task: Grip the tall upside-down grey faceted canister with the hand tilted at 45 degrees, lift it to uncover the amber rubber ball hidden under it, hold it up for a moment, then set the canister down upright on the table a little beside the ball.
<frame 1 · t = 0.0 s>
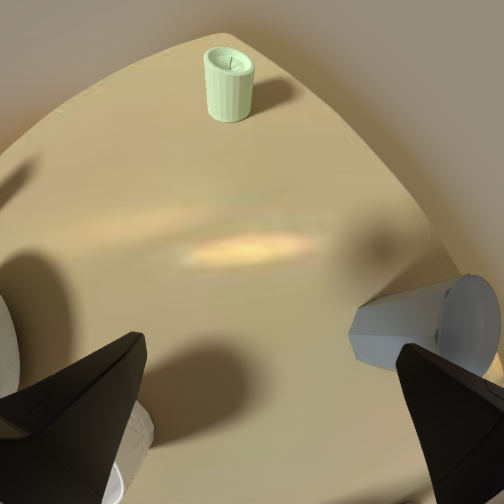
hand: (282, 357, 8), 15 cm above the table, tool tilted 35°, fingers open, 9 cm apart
candle: (229, 109, 29), on the table
white cup: (122, 422, 20), on the table
grey faceted canister: (379, 332, 23), on the table
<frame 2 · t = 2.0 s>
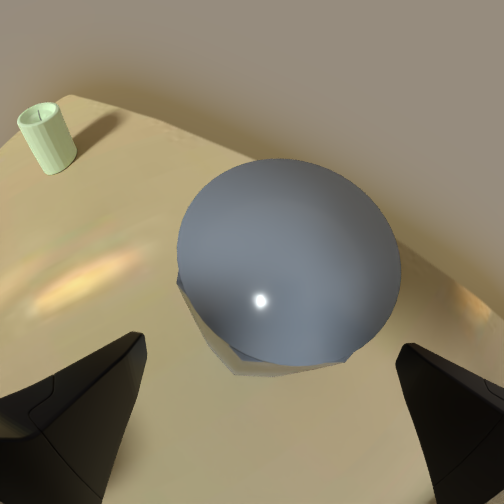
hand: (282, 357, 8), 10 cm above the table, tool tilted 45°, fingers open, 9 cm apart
candle: (60, 161, 25), on the table
grey faceted canister: (256, 331, 18), on the table
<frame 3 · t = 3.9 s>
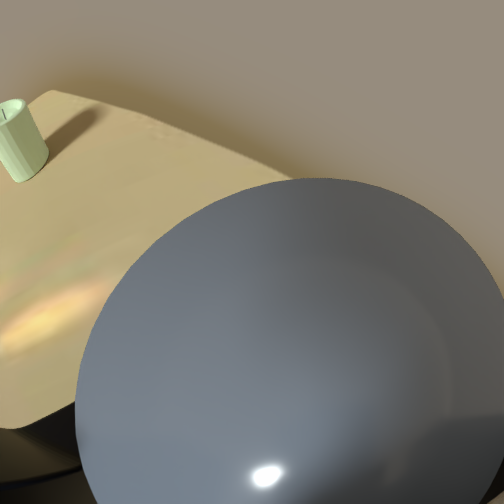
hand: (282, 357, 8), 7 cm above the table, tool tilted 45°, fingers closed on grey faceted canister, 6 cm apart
candle: (31, 166, 20), on the table
grey faceted canister: (259, 391, 13), on the table, touching gripper
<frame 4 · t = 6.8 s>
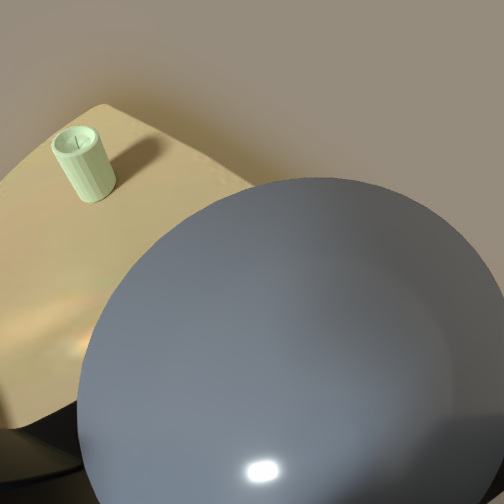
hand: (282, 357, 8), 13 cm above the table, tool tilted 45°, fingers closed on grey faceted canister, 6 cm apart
candle: (98, 187, 27), on the table
grey faceted canister: (259, 391, 13), point 7 cm above the table, touching gripper
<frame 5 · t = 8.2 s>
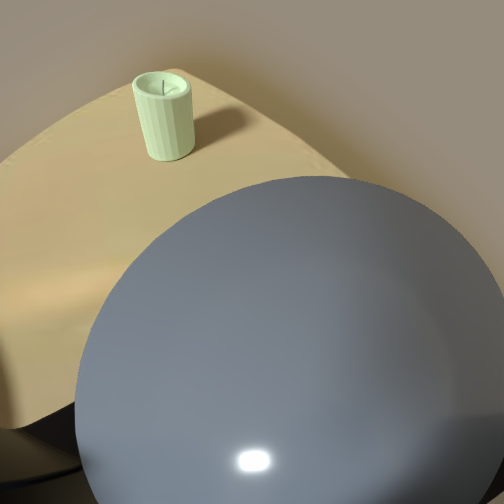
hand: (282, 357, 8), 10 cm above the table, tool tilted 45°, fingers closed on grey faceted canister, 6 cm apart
candle: (171, 147, 25), on the table
grey faceted canister: (259, 390, 13), point 3 cm above the table, touching gripper
when the fingers open (8 cm above the table, at t = 9.5 s): grey faceted canister drops 1 cm, on the table.
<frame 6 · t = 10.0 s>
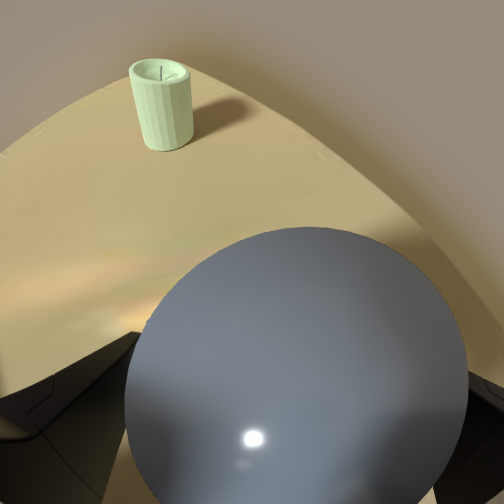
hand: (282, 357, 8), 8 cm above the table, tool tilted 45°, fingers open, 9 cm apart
candle: (169, 137, 24), on the table
grey faceted canister: (257, 388, 15), on the table
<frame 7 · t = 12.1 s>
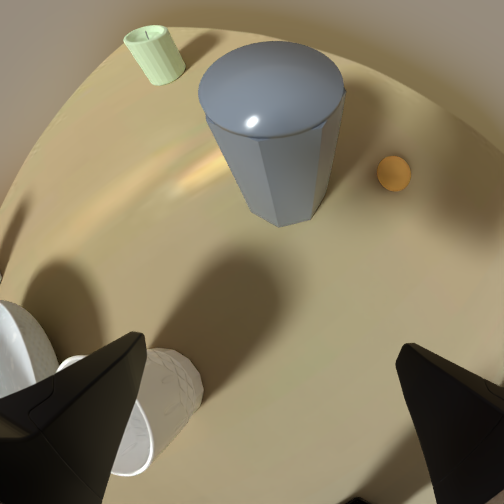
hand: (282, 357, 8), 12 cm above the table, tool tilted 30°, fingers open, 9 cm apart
cereal bowl: (42, 369, 23), on the table
candle: (168, 74, 28), on the table
white cup: (168, 383, 21), on the table
grey faceted canister: (284, 188, 22), on the table
amber ball: (394, 173, 20), on the table
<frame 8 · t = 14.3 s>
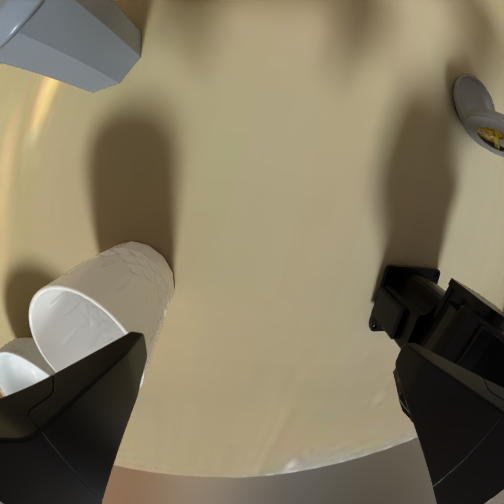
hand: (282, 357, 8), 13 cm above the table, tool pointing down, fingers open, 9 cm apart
cereal bowl: (69, 374, 26), on the table
pocket watch: (468, 114, 17), on the table
white cup: (138, 278, 22), on the table
grey faceted canister: (106, 56, 15), on the table
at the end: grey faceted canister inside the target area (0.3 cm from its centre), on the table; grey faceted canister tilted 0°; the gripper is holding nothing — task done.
